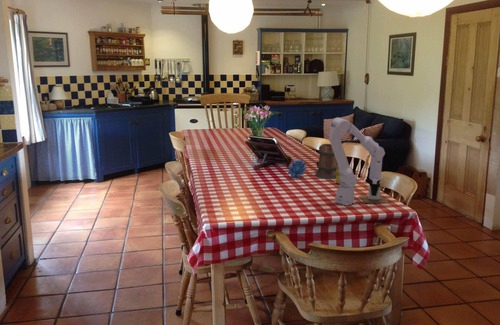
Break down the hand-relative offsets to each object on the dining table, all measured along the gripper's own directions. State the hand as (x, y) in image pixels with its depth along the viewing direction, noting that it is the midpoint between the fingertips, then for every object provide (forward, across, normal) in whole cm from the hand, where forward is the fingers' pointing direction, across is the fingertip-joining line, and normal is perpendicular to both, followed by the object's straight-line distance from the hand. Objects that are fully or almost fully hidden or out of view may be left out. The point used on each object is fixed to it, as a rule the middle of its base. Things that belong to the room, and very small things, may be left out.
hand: (374, 193), depth 238 cm
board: (+3, 0, 0) cm, 3 cm away
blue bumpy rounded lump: (+4, +34, +47) cm, 58 cm away
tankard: (+4, +47, +31) cm, 56 cm away
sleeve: (+2, 0, 0) cm, 2 cm away
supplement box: (+4, +28, +18) cm, 34 cm away
